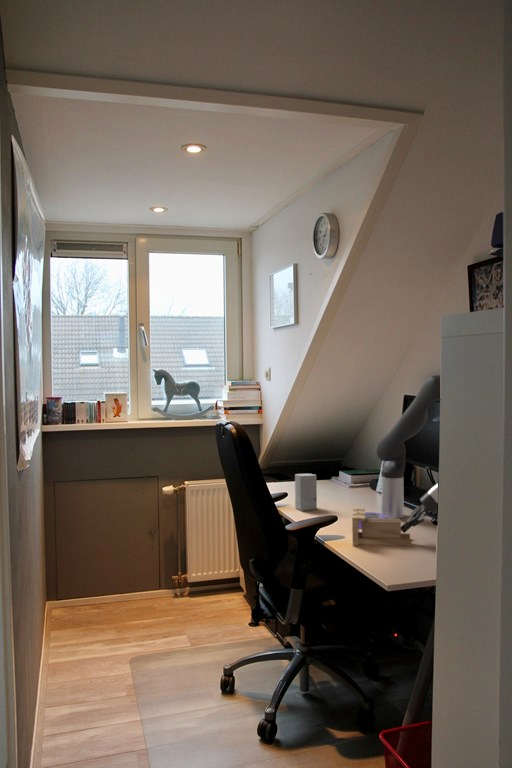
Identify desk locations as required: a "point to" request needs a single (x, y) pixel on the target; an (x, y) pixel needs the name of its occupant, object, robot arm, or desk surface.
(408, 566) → the desk surface
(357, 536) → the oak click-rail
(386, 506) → the robot arm
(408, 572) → the desk surface
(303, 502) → the skincare box
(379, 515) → the tape roll
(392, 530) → the light brown wooden block
